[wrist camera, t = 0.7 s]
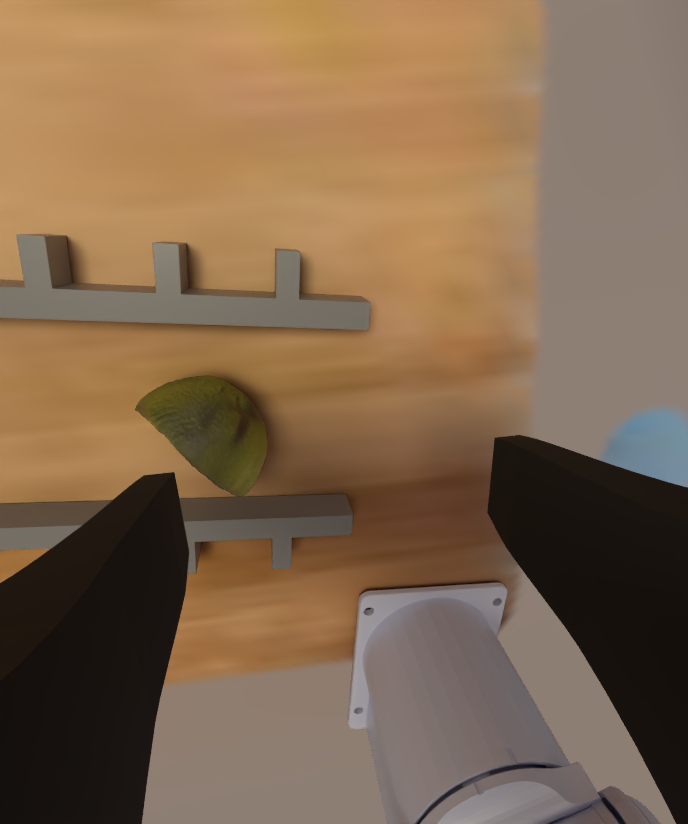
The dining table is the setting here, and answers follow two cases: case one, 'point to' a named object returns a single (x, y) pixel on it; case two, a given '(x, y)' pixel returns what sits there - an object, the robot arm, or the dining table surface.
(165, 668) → the robot arm
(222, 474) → the lime
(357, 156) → the dining table surface
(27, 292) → the grey u-shaped block
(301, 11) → the dining table surface
